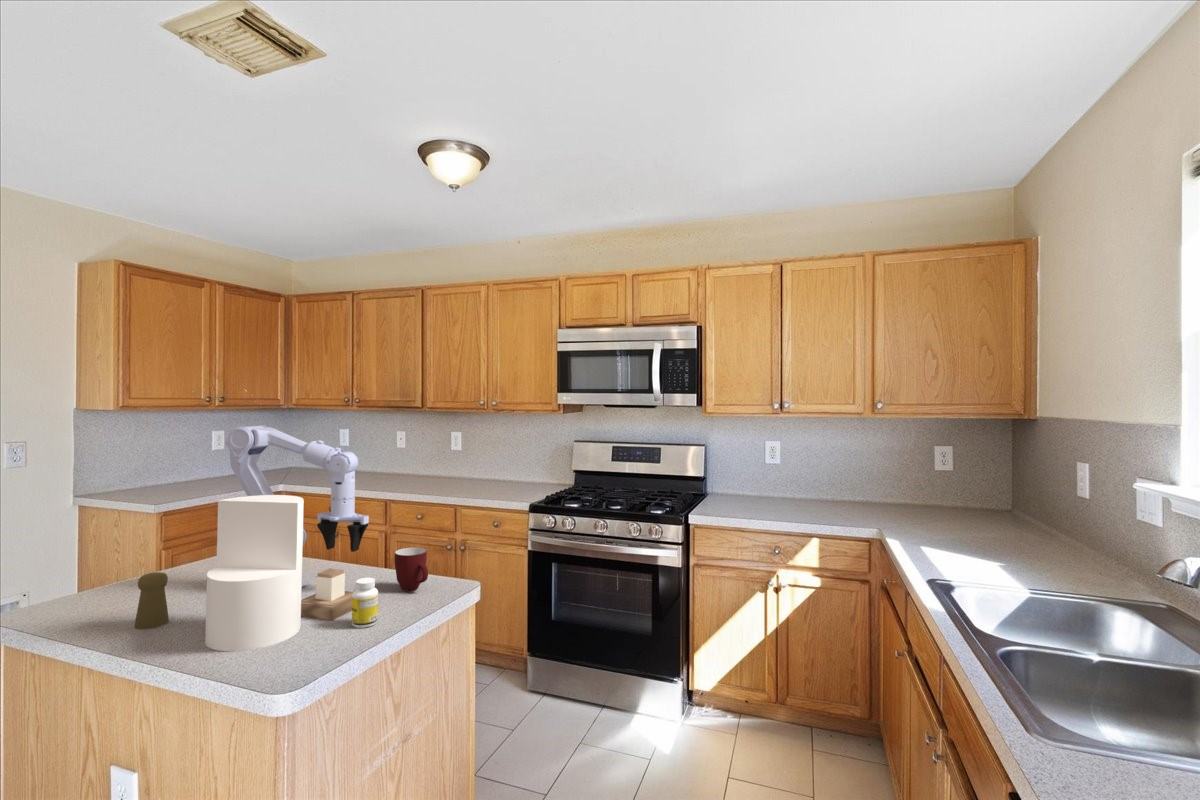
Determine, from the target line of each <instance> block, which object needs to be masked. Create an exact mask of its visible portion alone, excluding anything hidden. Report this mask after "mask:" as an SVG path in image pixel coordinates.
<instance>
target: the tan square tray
mask: <svg viewBox="0 0 1200 800" xmlns="http://www.w3.org/2000/svg"><path fill="white" fill-rule="evenodd" d="M353 592H354V591H349V590H348V591H347V590H345V595H343V596H341V597H339V598H337V599H335V600H332V601H327V600H320V599H316V593H315V594H311V595H310V596H307V597H304V598H303V599H302V598H301V617H305V618H311V619H318V620H324V621H329V622H330V621H331V622H332V621H334V620H336V619H338V618H340V617H342V616H344V615H346V614H348V613H350V612H352V594H353Z"/></svg>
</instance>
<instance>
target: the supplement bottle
mask: <svg viewBox="0 0 1200 800" xmlns="http://www.w3.org/2000/svg"><path fill="white" fill-rule="evenodd" d="M375 585H376V579H375V578H374V577H362V578H358V579H357V580H356V581H355V588H356V589H355V590H353V591H352V592H353V594H352V611H351V626H352V627H353V628H356V629H367V628H370V627H373V626H375V625H377V623H378V620H379V617H378V616H379V609H378V608H379V590H378V589H377V588H376V587H375Z"/></svg>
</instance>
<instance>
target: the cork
mask: <svg viewBox="0 0 1200 800" xmlns="http://www.w3.org/2000/svg"><path fill="white" fill-rule="evenodd" d="M168 582H169V578H168V575H167V574H166V573H165V572H160V571H156V572H149V573H145V574H143V575H141V576H140V577H139V578H138V581H137V588H138V590H140V595H139V599H138V605H137V610H136V616H135V621H134V629H135V630H149V629H156V628H159V627H162V626H165V625H167V624H168V623H169V622H170V617H169V610H168V603H167V598H166V597H167V596H166V595H167V594H166V590H165V587H166V586H167V584H168Z"/></svg>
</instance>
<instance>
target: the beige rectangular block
mask: <svg viewBox="0 0 1200 800" xmlns="http://www.w3.org/2000/svg"><path fill="white" fill-rule="evenodd" d="M345 589H346V573H345V570H344V569H340V568H339V569H338V568H330V567H329V568H327V569H325V570H322V571H320V572H317V576H315V594H316V599H320V600H327V601H332V600H335V599H337V598H339V597H341V596H343V595H345V591H346V590H345Z"/></svg>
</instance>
